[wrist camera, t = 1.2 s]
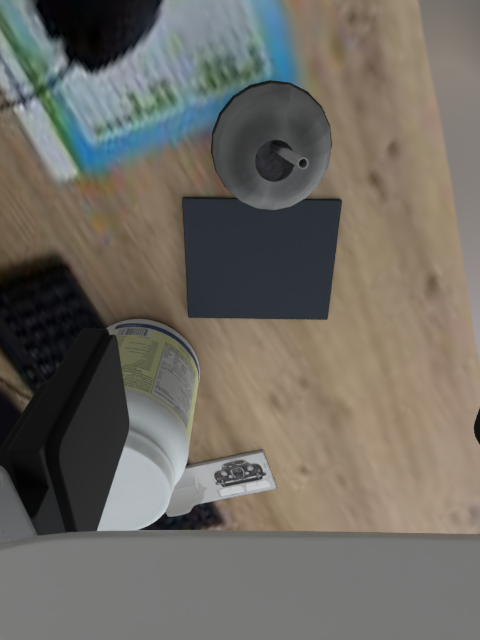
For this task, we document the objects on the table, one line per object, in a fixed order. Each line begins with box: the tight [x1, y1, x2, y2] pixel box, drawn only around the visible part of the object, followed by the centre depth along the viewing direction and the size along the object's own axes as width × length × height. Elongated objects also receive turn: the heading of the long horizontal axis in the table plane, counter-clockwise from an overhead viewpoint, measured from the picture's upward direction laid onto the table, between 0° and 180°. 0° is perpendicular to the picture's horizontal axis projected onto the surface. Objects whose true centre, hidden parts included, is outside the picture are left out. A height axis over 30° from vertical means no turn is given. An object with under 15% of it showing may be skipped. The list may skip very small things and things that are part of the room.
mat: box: [182, 197, 342, 320], centre depth 43 cm, size 14×12×1 cm
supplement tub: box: [97, 319, 200, 531], centre depth 42 cm, size 12×12×17 cm
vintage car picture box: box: [165, 450, 277, 517], centre depth 56 cm, size 15×7×4 cm, turn 107°
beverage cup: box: [211, 80, 332, 210], centre depth 29 cm, size 7×7×20 cm
